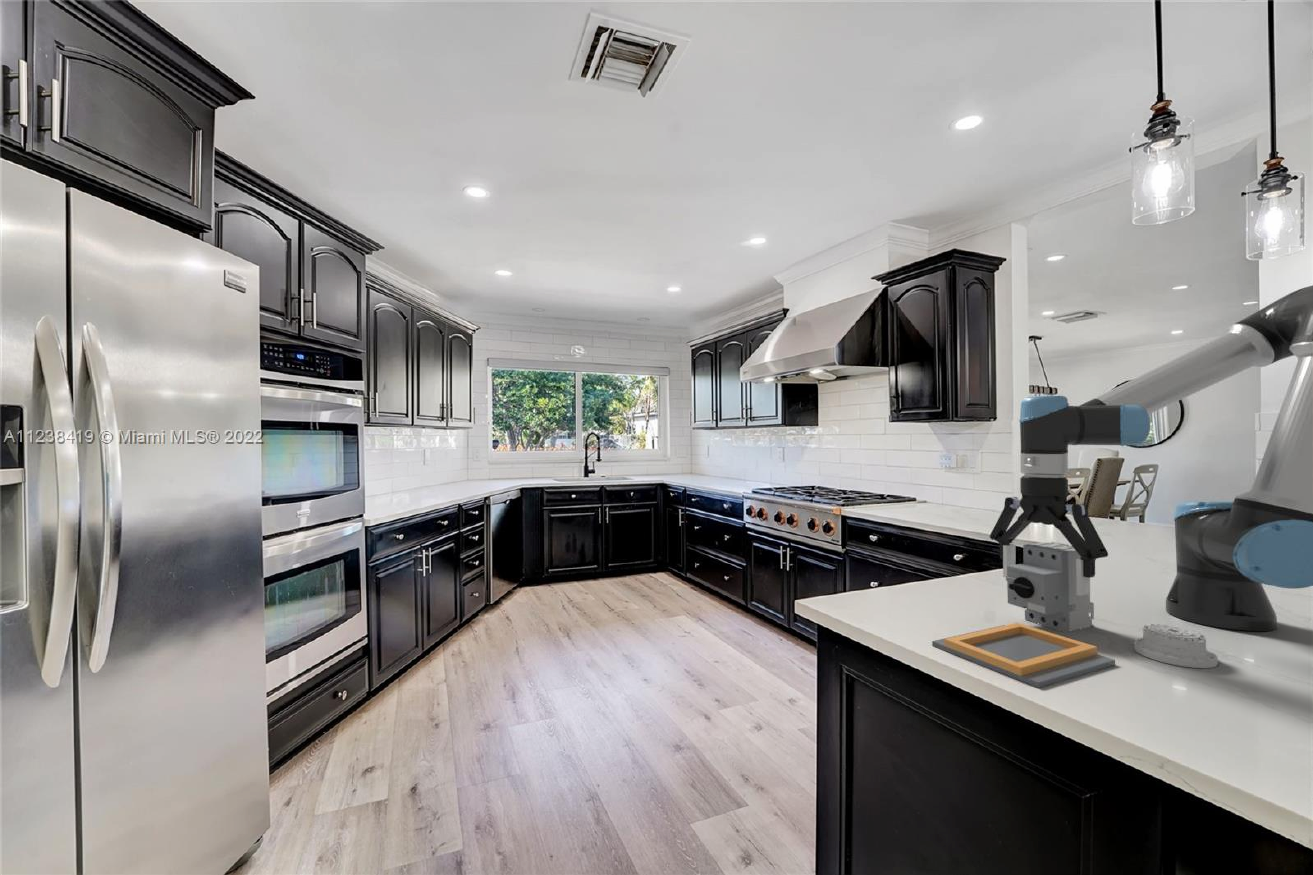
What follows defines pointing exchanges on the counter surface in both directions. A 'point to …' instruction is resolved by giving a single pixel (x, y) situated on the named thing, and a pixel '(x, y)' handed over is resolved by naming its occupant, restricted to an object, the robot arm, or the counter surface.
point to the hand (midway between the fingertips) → (1044, 585)
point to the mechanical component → (1175, 646)
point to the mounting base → (1026, 653)
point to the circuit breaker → (1049, 587)
